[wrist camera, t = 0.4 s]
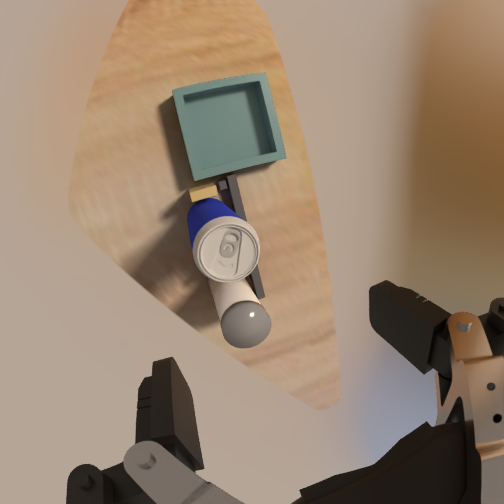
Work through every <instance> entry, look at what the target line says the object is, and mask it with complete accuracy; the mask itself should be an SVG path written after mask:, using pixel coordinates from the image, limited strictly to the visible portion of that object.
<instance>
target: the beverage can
mask: <svg viewBox="0 0 504 504" xmlns="http://www.w3.org/2000/svg"><path fill="white" fill-rule="evenodd" d="M187 222H188V228H189V234H190V240H191V246H192V252H193V258H194V261H195V264H196V265H197V267H198V269H199V270H200V271H201V272H202V273H203V274H204V275H205V276H207V277H208V278H210V279H213V280H215V281H218V282H223V283H231V282H236V281H239V280H241V279H243V278H245V277H246V276H248V275H249V274H250V273H251V272H252V271H253V270H254V268H255V267H256V265H257V262H258V260H259V254H260V244H259V239H258V236H257V234H256V232H255V230H254V229H253V227H252V226H251V225H250V224H249V223H247V222H246V221H245V220H244V219H242V218H241V217H240V216H239V215H237V214H236V213H235V212H233V211H232V210H231V209H230V208H228V207H227V206H226V205H225V204H223V203H222V202H221V201H219V200H217V199H214V198H205V199H201V200H199V201H197V202H196V203H195V204H194V205H193V206H192V207H191V209H190V210H189V213H188V217H187Z"/></svg>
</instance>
